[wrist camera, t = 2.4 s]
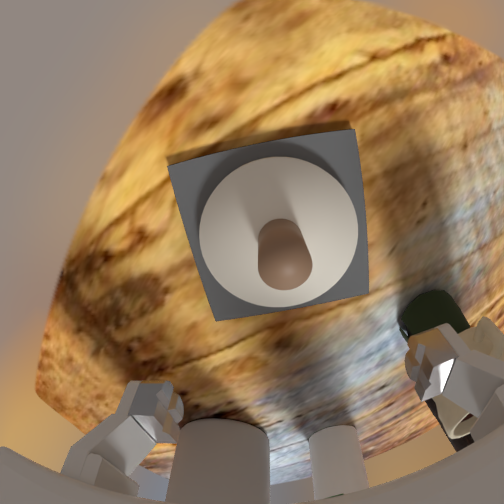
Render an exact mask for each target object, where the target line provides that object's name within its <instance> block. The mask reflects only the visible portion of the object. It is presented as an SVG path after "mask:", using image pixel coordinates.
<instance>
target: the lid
mask: <svg viewBox="0 0 504 504" xmlns="http://www.w3.org/2000/svg"><path fill="white" fill-rule="evenodd" d="M199 239H200V247H201V251H202V255H203V258H204V260H205V263H206V265H207V267H208V269H209V271H210V272H211V274H212V275H213V276H214V278H215V279H216V280H217V281H218V282H219V283H220V284H221V285H222V287H224V288H225V289H226V290H227V291H229V292H230V293H231V294H233V295H235V296H236V297H238V298H240V299H242V300H244V301H246V302H249V303H252V304H255V305H260V306H265V307H288V306H294V305H298V304H302V303H305V302H308V301H310V300H313V299H315V298H317V297H319V296H320V295H322V294H323V293H325V292H326V291H328V290H329V289H330V288H331V287H332V286H334V285H335V284H336V283H337V282H338V281H339V279H340V278H341V277H342V276H343V274H344V273H345V272H346V270H347V269H348V267H349V265H350V263H351V261H352V259H353V256H354V254H355V250H356V246H357V240H358V222H357V216H356V212H355V209H354V206H353V204H352V201H351V199H350V197H349V195H348V194H347V192H346V191H345V189H344V188H343V187H342V186H341V184H340V183H339V182H338V181H337V180H336V179H335V178H334V177H333V176H331V175H330V174H329V173H328V172H326V171H324V170H323V169H321V168H320V167H318V166H316V165H314V164H312V163H310V162H307V161H304V160H301V159H297V158H292V157H283V156H274V157H266V158H261V159H258V160H254V161H251V162H249V163H247V164H244V165H242V166H240V167H239V168H237V169H235V170H234V171H232V172H231V173H230V174H229V175H228V176H226V177H225V178H224V179H223V180H222V181H221V182H220V184H219V185H218V186H217V187H216V188H215V190H214V191H213V193H212V194H211V196H210V197H209V199H208V201H207V203H206V205H205V207H204V210H203V213H202V216H201V221H200V229H199Z"/></svg>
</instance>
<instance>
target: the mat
mask: <svg viewBox="0 0 504 504" xmlns="http://www.w3.org/2000/svg"><path fill="white" fill-rule="evenodd" d="M274 156H283V157H292V158H297V159H301V160H304V161H307V162H310V163H312V164H314V165H316V166H318V167H320V168H321V169H323V170H324V171H326V172H328V173H329V174H330V175H331V176H333V177H334V178H335V179H336V180H337V181H338V182H339V183H340V184H341V186H342V187H343V188H344V189H345V191H346V192H347V194H348V195H349V197H350V199H351V201H352V204H353V206H354V209H355V212H356V216H357V222H358V240H357V246H356V250H355V254H354V256H353V259H352V261H351V263H350V265H349V267H348V269H347V270H346V272H345V273H344V274H343V276H342V277H341V278H340V279H339V281H338V282H337V283H336V284H335V285H334V286H332V287H331V288H330V289H329V290H328V291H326V292H325V293H323V294H322V295H320V296H319V297H317V298H315V299H313V300H310V301H308V302H305V303H302V304H298V305H294V306H288V307H265V306H260V305H255V304H252V303H249V302H246V301H244V300H242V299H240V298H238V297H236V296H235V295H233V294H231V293H230V292H229V291H227V290H226V289H225V288H224V287H222V285H221V284H220V283H219V282H218V281H217V280H216V279H215V278H214V276H213V275H212V274H211V272H210V271H209V269H208V267H207V265H206V263H205V260H204V258H203V255H202V251H201V247H200V239H199V229H200V221H201V216H202V213H203V210H204V207H205V205H206V203H207V201H208V199H209V197H210V196H211V194H212V193H213V191H214V190H215V188H216V187H217V186H218V185H219V184H220V182H221V181H222V180H223V179H224V178H225V177H226V176H228V175H229V174H230V173H231V172H232V171H234V170H235V169H237V168H239V167H240V166H242V165H244V164H247V163H249V162H251V161H254V160H258V159H261V158H266V157H274ZM167 168H168V171H169V175H170V179H171V182H172V186H173V190H174V193H175V197H176V200H177V204H178V207H179V211H180V214H181V217H182V221H183V224H184V227H185V231H186V234H187V237H188V240H189V244H190V247H191V250H192V253H193V256H194V259H195V262H196V265H197V268H198V271H199V275H200V278H201V281H202V283H203V286H204V289H205V292H206V295H207V298H208V301H209V304H210V307H211V309H212V312H213V315H214V318H215V321H222V320H229V319H236V318H242V317H249V316H255V315H261V314H267V313H273V312H279V311H285V310H290V309H296V308H301V307H306V306H311V305H316V304H321V303H326V302H331V301H336V300H341V299H345V298H350V297H354V296H359V295H363V294H368V293H369V266H368V241H367V224H366V211H365V200H364V190H363V182H362V173H361V166H360V158H359V152H358V145H357V139H356V133H355V129H349V130H340V131H332V132H324V133H317V134H310V135H303V136H297V137H291V138H285V139H279V140H274V141H268V142H263V143H258V144H253V145H249V146H244V147H239V148H235V149H231V150H226V151H222V152H218V153H214V154H210V155H206V156H202V157H198V158H195V159H191V160H187V161H184V162H180V163H177V164H173V165H170V166H167Z"/></svg>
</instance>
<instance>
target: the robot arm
mask: <svg viewBox="0 0 504 504" xmlns="http://www.w3.org/2000/svg"><path fill="white" fill-rule="evenodd" d="M408 347H409V348H410V349H409V351H408V352H407V353H406V356H405V368H406V371H407V374H408V376H409V378H410V379H411V380H413V381H415V382H416V384H415V390H416V392H417V394H418V396H419V398H420V400H421V402H422V401H425V400H427V399H430V398H432V397H435V396H437V395H440V394H442V395H443V396H445V397H446V398H448V399H449V400H451V401H452V402H454V403H455V404H457V405H458V406H460V407H462V408H463V409H465V410H466V411H468V412H469V413H471V414H472V415H474V416H476V417H477V418H478V419H477V420H476V422H475V423H474V425H473V426H472V427H471V430H470V434H471V436H472V438H473V440H474V443H472V444H471V445H469V446H467V447H465V448H464V449H462V450H460V451H458V452H456V453H455V454H453V455H451V456H449V457H447V458H445V459H443V460H441V461H439V462H436V463H434V464H432V465H430V466H428V467H425V468H423V469H421V470H418V471H416V472H414V473H411V474H409V475H406V476H403V477H401V478H398V479H395V480H392V481H390V482H387V483H384V484H380V485H377V486H374V487H371V488H367V489H364V490H360V491H356V492H353V493H348V494H344V495H340V496H335V497H331V498H325V499H320V500H314V501H308V502H301V503H294V504H504V361H501V360H499V359H496V358H494V357H491V356H489V355H486V354H484V353H481V352H479V351H476V350H473V351H471V350H470V349H469V348H468V347H467V345H466V344H465V343H464V341H463V340H462V339H461V338H460V336H459V335H458V334H457V333H456V332H455V330H454V329H453V328H452V327H451V325H450V324H448V323H445V324H442V325H440V326H437V327H435V328H431V329H429V330H426V331H423V332H421V333H418V334H415V335H412V336H410V338H409V339H408ZM173 388H174V387H173V385H172V384H171V382H170V381H130V382H129V383H128V384H127V387H126V389H125V391H124V394H123V396H122V399H121V401H120V403H119V406H118V408H117V411H116V413H115V414H111V415H110V416H109V417H108V418H106V419H105V420H104V421H103V422H101V423H100V424H99V425H98V426H96V427H95V428H94V429H93V430H91V431H90V432H89V433H88V434H86V435H85V436H84V437H83V438H82V439H80V440H79V441H78V442H76V443H75V444H74V445H73V446H71V448H70V450H69V453H68V455H67V458H66V460H65V462H64V465H63V467H62V470H61V473H58V472H56V471H53V470H51V469H49V468H46V467H44V466H42V465H40V464H38V463H36V462H34V461H32V460H30V459H28V458H26V457H24V456H22V455H20V454H18V453H16V452H15V451H13V450H11V449H9V448H7V447H0V504H176V503H169V502H162V501H155V500H150V499H145V498H140V497H137V494H138V490H139V485H138V484H137V483H136V482H135V481H133V480H132V479H131V478H129V477H128V476H129V475H130V474H131V473H132V472H133V471H134V469H135V468H136V467H137V466H138V465H139V464H140V463H141V462H142V460H143V459H144V458H145V457H146V456H147V455H148V453H149V452H150V451H151V450H152V449H153V448H154V446H155V445H156V443H178V438H179V433H180V427H179V425H178V423H179V422H180V421H181V420H182V419H183V414H184V408H183V402H182V400H181V398H180V396H179V395H178V394H176V393H175V392H173Z"/></svg>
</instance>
